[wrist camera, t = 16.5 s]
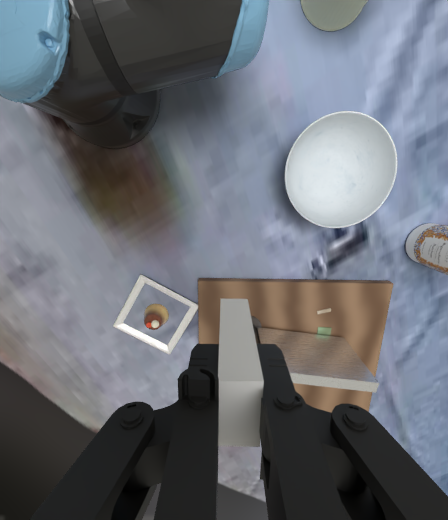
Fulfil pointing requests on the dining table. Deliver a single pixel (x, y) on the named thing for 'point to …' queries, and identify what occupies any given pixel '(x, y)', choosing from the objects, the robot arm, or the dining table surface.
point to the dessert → (154, 316)
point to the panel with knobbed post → (319, 359)
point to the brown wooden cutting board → (307, 319)
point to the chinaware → (340, 169)
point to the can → (332, 12)
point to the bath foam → (429, 246)
